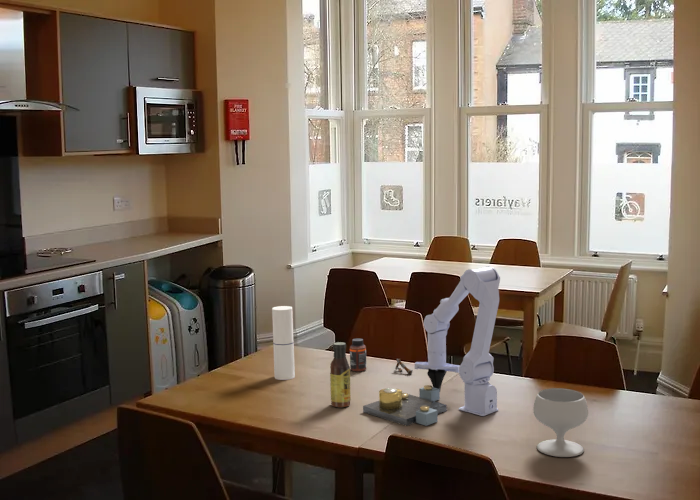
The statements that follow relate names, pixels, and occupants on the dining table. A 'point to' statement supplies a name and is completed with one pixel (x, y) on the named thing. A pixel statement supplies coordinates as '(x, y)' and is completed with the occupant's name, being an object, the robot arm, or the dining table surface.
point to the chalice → (560, 419)
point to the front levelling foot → (429, 393)
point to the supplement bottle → (357, 355)
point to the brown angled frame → (402, 367)
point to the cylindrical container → (283, 342)
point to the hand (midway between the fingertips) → (437, 392)
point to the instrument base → (404, 410)
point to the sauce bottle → (340, 377)
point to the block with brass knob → (426, 415)
